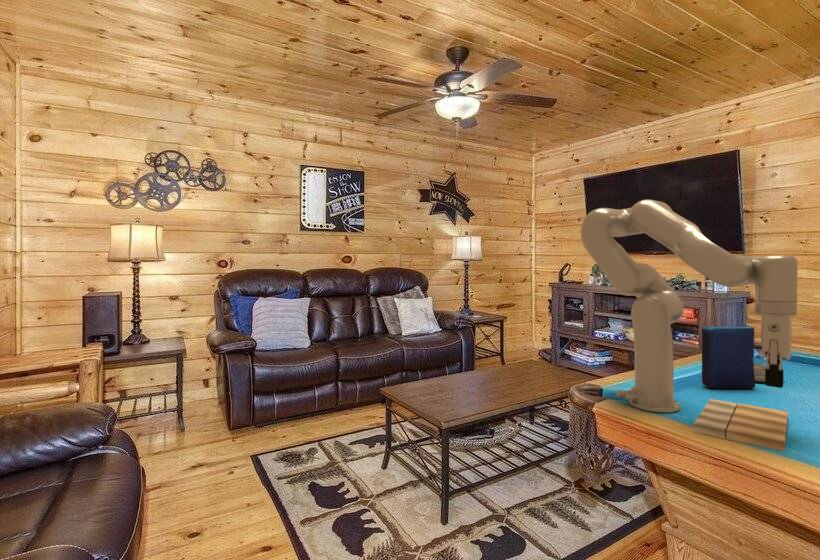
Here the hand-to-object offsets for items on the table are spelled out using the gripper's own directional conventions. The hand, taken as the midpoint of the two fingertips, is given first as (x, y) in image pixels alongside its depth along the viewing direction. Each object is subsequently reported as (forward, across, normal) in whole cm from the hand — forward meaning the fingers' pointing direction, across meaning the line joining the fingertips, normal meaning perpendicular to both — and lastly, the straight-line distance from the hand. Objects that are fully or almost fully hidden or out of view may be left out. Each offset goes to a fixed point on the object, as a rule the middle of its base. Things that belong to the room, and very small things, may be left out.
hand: (774, 385), depth 101 cm
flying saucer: (+12, +54, +7) cm, 55 cm away
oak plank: (+11, 0, +3) cm, 11 cm away
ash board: (+11, 0, +11) cm, 16 cm away
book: (+11, +35, +12) cm, 39 cm away
